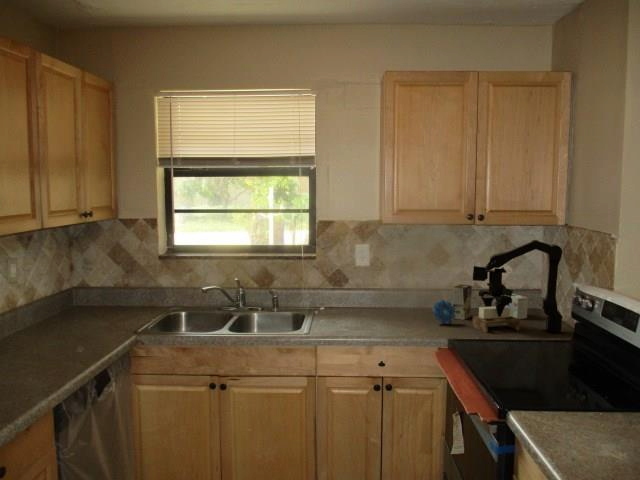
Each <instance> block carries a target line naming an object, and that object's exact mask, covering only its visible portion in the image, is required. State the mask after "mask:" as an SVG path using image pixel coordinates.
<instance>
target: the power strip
mask: <svg viewBox="0 0 640 480" xmlns="http://www.w3.org/2000/svg"><path fill="white" fill-rule="evenodd" d="M478 316H479V317H480V318H483V319H484V320H486V321H487V319H489V318H504V319H505V317H510V307H508V306H505V307H504V310H503V312H502V315H501V317H498V314H497V310H496V305H494V306H493V305H492V306H491V307H486V306H480V307H478Z"/></svg>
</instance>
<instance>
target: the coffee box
mask: <svg viewBox="0 0 640 480" xmlns="http://www.w3.org/2000/svg"><path fill="white" fill-rule="evenodd" d="M472 288H473V286H472V285H470V284H458V285H455V286H453V290H452V291H453V293H452V306H453V307H455V312H453V313H455V315H456V317H455V318H454V320H455V319H457V320H462V321H465V320H467V319H468V318H470V317H471V316H472V314H471V313H472V291H473V289H472Z"/></svg>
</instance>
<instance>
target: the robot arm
mask: <svg viewBox="0 0 640 480" xmlns="http://www.w3.org/2000/svg"><path fill="white" fill-rule="evenodd" d="M535 250H537V251H540V252H543V253H545V254H546V257H547V263H548V264H547V265H548V267H547V280H546V281H547V282H546V294H545V296H544V297H541V304H540V307H541V309H542V311H543V313H544V314H545V315H546V319H545V328H543V329H542V330H543V331H545V332H547V333H549V334H552V335H554V334H555V335H556V334H564V333H565V331H564V330H562V326H563V325H562V323H563V322H562V321H563V315H562V313H561V312H560V311H559V310H558V302H557V296H556V295H557V283H558V272H559V265H560V261H561V260H562V255H563V248H561V246H560V245H558V244H556V243H551V244H549V243H546V242H542V241H539V240H537V239H533V240H531V241H530V242H527V243H525V244H521V245H519V246H518V247H515V248H513V249H510V250H508V251H503V252H498V253H494V254H492V255H491V256H490V257H489V261H488V263H486V265H485V266H478V265H473V271H472V281H475V282H476V281H478V282H486V280H488V282H487V283H486V286H488V289H480V290H479V291H478V297H480V299H481V300H482V302H483V304H484V307H492V306H493V305H492V304H493V301H494V299H495V301H496V302H494V304H495V305H494V306H496V310H497V314H498V317H501V315H502V312H503V310H504V307H505V306H506V305H507V304H509V303H512V298H511V296H512V293H513V294H514V290H513V289H509V288H507V286H506V285H505V284H504V283H503V274H506V273H507V270H506V269H505V267H504V265H506V264H508V262H510V261H511V260H513V259H516V258H518V257H520V256H523V255H525V254H527V253H530V252H532V251H535ZM504 295H506V296H504Z"/></svg>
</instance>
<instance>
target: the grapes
mask: <svg viewBox="0 0 640 480" xmlns="http://www.w3.org/2000/svg"><path fill="white" fill-rule="evenodd" d="M433 307H434V308H432V310H431V312H432V314H433V315H434V320H435V321H439V322H440V324H441V325H445V324H446V323H447V324H451V323H452V322H453V319H454V320H455V317H456V315H455V313H453V312H455V307H453V305H452V304H451V302H450V301H449V300H446V301H445V300H444V299H440V300H438V302H435V303H433Z"/></svg>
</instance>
